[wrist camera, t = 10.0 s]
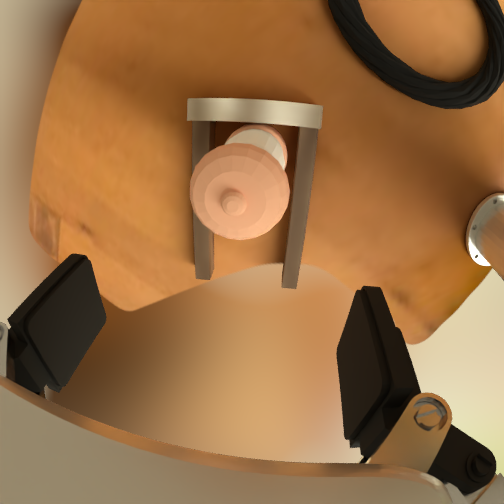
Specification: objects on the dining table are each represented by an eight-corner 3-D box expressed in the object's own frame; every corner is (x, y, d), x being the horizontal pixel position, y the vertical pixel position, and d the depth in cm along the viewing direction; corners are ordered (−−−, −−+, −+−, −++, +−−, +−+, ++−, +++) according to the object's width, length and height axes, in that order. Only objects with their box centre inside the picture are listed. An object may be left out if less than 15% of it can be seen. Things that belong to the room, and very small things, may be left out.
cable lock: (296, 43, 25) (358, -109, 10) (294, 48, 28) (353, -97, 13) (489, 149, 27) (523, -6, 12) (474, 143, 30) (510, -3, 15)
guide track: (317, 105, 31) (323, 106, 27) (295, 276, 43) (296, 297, 38) (200, 98, 32) (187, 98, 27) (200, 267, 44) (192, 286, 39)
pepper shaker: (216, 160, 35) (158, 222, 19) (247, 111, 32) (210, 125, 16) (265, 190, 37) (251, 276, 20) (298, 143, 34) (316, 191, 17)
